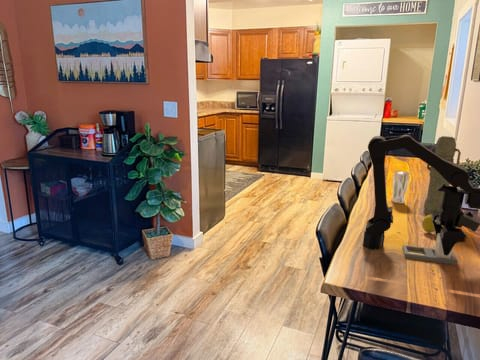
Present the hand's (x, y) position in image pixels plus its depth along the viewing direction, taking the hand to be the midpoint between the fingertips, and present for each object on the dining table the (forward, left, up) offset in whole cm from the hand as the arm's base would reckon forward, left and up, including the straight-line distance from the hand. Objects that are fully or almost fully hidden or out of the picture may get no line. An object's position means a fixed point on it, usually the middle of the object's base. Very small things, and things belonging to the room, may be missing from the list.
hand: (443, 249), depth 117 cm
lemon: (+15, +18, -4) cm, 23 cm away
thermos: (+36, +33, -4) cm, 49 cm away
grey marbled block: (+34, +52, -4) cm, 62 cm away
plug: (0, 0, -3) cm, 3 cm away
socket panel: (-3, +3, -4) cm, 5 cm away
